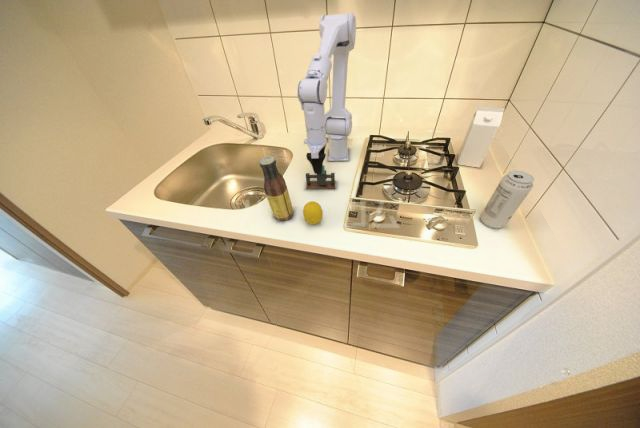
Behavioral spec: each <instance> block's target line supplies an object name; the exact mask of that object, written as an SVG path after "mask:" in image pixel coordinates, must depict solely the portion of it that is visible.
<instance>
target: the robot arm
mask: <svg viewBox="0 0 640 428" xmlns="http://www.w3.org/2000/svg"><path fill="white" fill-rule="evenodd" d="M318 29H319V30H318V31H319V37H320V42H319V46H318V51H317V53H314V54H313V55H312V57H311V60H310V63H309V65H308V68H307V71H306V74H305V77H303V78H302V79H301V80H299V82H298V84H297V94H296V95H297V99H298V102H299V104H300V108H301V110H302V111H303V116H304V117H303V118H304V124H305V131H306V138H304V139H303V145H307V147H308V149H309V151H310V152H307V153H306V155H305V156H306V160H307V161H308V162H309V163H310V166H311V167H312V170H313V173H314V175H317V174H321V173H322V166H323V165H324V161H325V160H326V156H327V155H326V153H325V152H326V151H325V150H326V146H327V143H328V149H329V151H328V157H327V160H328V162H347V161H349V148H348V137H350V135H351V133H352V130H353V120H352V119H353V116H352V115H353V114H352V112H350V111H349V110H348V109H347V108H346V97H347V80H348V67H349V55H350V52H351V51H353V50H354V49H355V44H356V37H357V35H356V34H357V19H356V15H355V13H354V12H350V13H338V14H328V15H327V14H322V15H321V18H320V19H319V25H318ZM332 57H333V58H332ZM331 59H332V60H331ZM331 71H332V84H331V85H332V86H331V89H332V90H331V107H330V109H329V110H327V111H326V110H325V102H326V100H327V96H328V95H327V94H328V87H329V84H328V80H329V77H330V74H331Z"/></svg>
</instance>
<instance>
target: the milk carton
mask: <svg viewBox="0 0 640 428" xmlns="http://www.w3.org/2000/svg"><path fill="white" fill-rule="evenodd" d="M505 110H506V108H502V107H488V106H487V107H486V106H478V107H477V108H476V111H475V112H474V113H473V116H472V118H471V120H470V124H469V127H468V129H467V130H466V131H467V132H466V134H465V137H464V139H463V142H462V143H461V144H462V145H461V147H460V150H459V151H458V156H457V165H460V166H464V167H465V166H466V167H473V168H481V166H482V164H483V162H484V160H485V158H486V155H487V154H488V152H489V149H490V148H491V145H492V143H493V141H494V139H495V136H497V133H498V131H499V128H500V127H501V122H502V119H503V116H504V113H505Z"/></svg>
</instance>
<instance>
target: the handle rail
mask: <svg viewBox="0 0 640 428" xmlns="http://www.w3.org/2000/svg"><path fill="white" fill-rule="evenodd" d="M335 173H336V172H331V173H330V174H328V173H326V178H327V179H330V180H326V185H317V180H311V179H317V174H310V173H309V172H305V181H306V188H305V189H306V190H336V177H335V175H336V174H335Z"/></svg>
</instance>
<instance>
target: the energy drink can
mask: <svg viewBox="0 0 640 428" xmlns="http://www.w3.org/2000/svg"><path fill="white" fill-rule="evenodd" d="M534 181H535V177H534V176H533V175H532V174H530V173H529V172H526V171H524V170H510V171H509V172H508V173H507V174H505V175H503V176H502V178H501V179H500V180H499V183H498V184H497V186H496V188H495V189H494V191H493V193H492V194H491V197H490V199H489V200H488V202H487V204H486V205H485V206H484V208H483V210H482V212H481V214H480V220H481V223H482V224H483V225H484V226H486V227H488V228H490V229H496V230H497V229H501V228H504V227H506V226H507V224H508V223H509V221H511V219H512V218H513V216H514V215H515V214H516V212H517V210H518V209H519V207H520V206H521V205H522V204H523V202H524V201H525V200H526V198H527V196H528V195H529V193H530V192H531V191H532V189H533V188H534Z"/></svg>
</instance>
